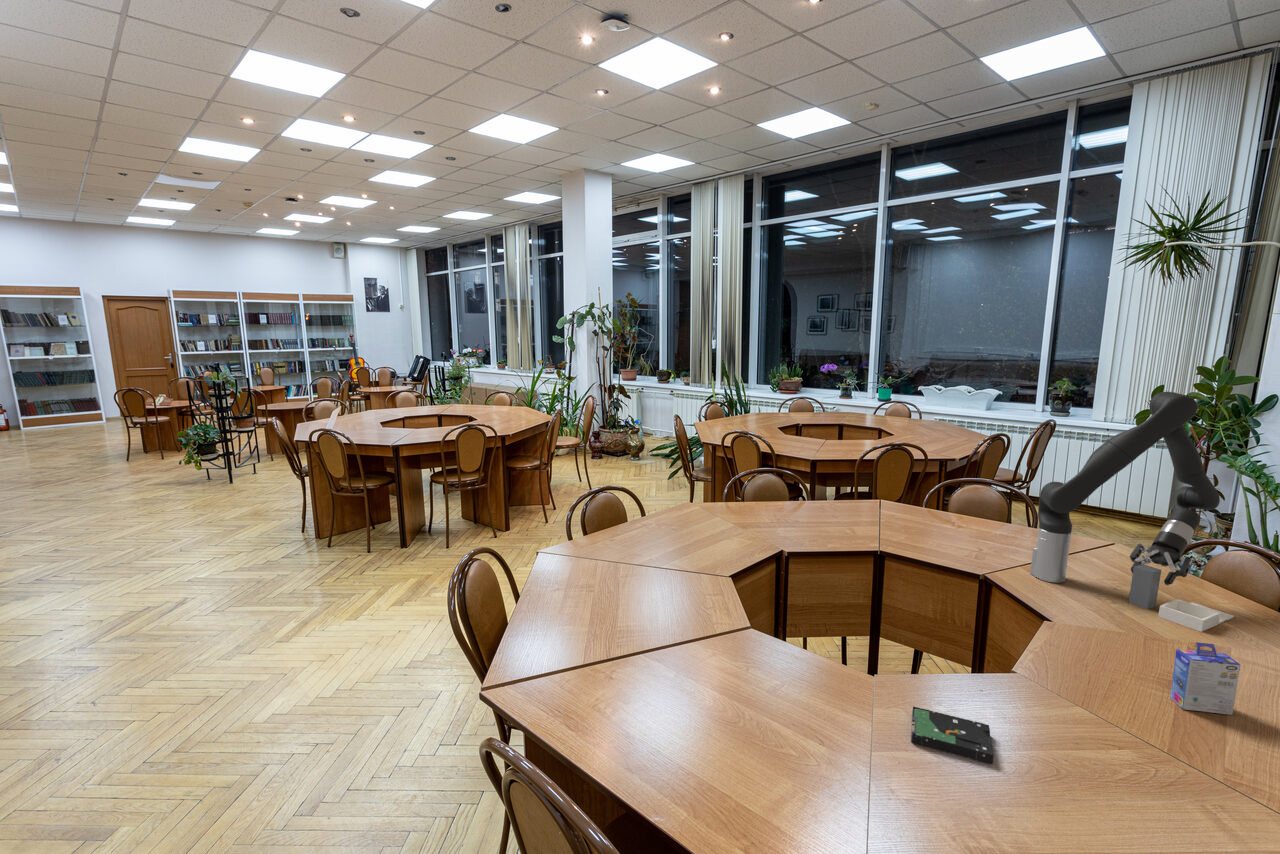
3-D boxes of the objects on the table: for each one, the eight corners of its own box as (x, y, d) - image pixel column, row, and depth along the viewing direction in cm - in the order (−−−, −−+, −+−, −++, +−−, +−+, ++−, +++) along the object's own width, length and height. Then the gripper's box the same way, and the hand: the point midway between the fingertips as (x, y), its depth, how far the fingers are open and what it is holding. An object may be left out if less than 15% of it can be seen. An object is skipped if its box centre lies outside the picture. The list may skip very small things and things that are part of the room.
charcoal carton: (1128, 602, 190) (1133, 566, 188) (1136, 599, 192) (1142, 563, 190) (1147, 609, 186) (1153, 572, 184) (1155, 606, 188) (1161, 569, 186)
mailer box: (1158, 616, 181) (1160, 605, 181) (1191, 603, 190) (1193, 592, 190) (1201, 631, 172) (1203, 620, 172) (1234, 617, 181) (1236, 606, 181)
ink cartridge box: (1216, 701, 140) (1226, 643, 138) (1234, 716, 135) (1245, 655, 132) (1167, 695, 142) (1176, 638, 139) (1182, 710, 136) (1193, 650, 134)
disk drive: (987, 736, 128) (910, 716, 134) (989, 724, 128) (912, 704, 134) (993, 767, 119) (910, 745, 125) (994, 755, 118) (911, 732, 124)
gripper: (1143, 524, 197) (1119, 563, 193) (1199, 538, 184) (1174, 580, 181) (1149, 537, 200) (1126, 576, 197) (1204, 551, 187) (1180, 593, 184)
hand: (1149, 578), depth 189 cm, fingers open, 8 cm apart
